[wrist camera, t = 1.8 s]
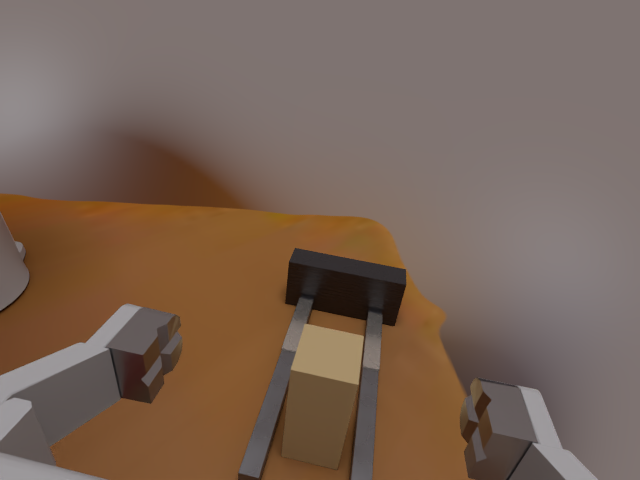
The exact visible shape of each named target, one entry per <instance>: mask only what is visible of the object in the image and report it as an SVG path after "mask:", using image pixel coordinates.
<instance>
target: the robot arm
mask: <svg viewBox="0 0 640 480" xmlns="http://www.w3.org/2000/svg"><path fill="white" fill-rule="evenodd" d="M25 253H26V250H25V248H24V246H23V244H22V243H20V242H15V241H14V239H13V237H12V235H11V233H10V231H9V229H8V227H7V225H6V223H5V221H4V219H3V217H2V214H1V212H0V310H2V309H3V308H5V307H6V306H8V305H9V304H10V303H12V302H13V301H14V300H15V299H16V298H17V297H18V296H19V295H20V294H21V293H22V292H23V291H24V289H25V288H26V286H27V284H28V281H29V271H28V269H27V267H26V266H25V264H24V262H23V259H24V257H25ZM180 326H181V323H180V317H179V316H177V315H175V314H171V313H166V312H162V311H158V310H154V309H149V308H145V307H139V306H135V305H131V304H125V305H123V306H121V307H120V308H119V309H118V310H117V311H116V312H115V313H114V314H113V315H112V316H111V317H110V318H109V319H108V320H107V322H106V323H105V324H104V325H103V326H102V327H101V328H100V329H99V330H98V331H97V332H96V333H95V334H94V335H93V336H92V337H91V338H90V339H89V340H88V341H87V342H86V343H81V342H79V343H77V344H75V345H72V346H70V347H68V348H65V349H63V350H60V351H58V352H56V353H53V354H51V355H48V356H46V357H44V358H41V359H39V360H36V361H34V362H32V363H29V364H27V365H25V366H22V367H20V368H17V369H15V370H13V371H10V372H8V373H5V374H3V375H1V376H0V480H107V479H103V478H99V477H95V476H92V475H88V474H84V473H80V472H76V471H72V470H68V469H64V468H60V467H56V461H55V459H54V456H53V454H52V451H51V449H50V446H52V445H53V444H55V443H56V442H58V441H59V440H61V439H62V438H64V437H65V436H67V435H68V434H70V433H71V432H72V431H74V430H75V429H77V428H78V427H80V426H81V425H83V424H84V423H86V422H87V421H89V420H90V419H92V418H93V417H95V416H96V415H98V414H99V413H101V412H102V411H104V410H105V409H107V408H108V407H110V406H111V405H113V404H114V403H116V402H117V401H119V400H120V399H121V398H126V399H130V400H135V401H140V402H145V403H150V404H151V403H152V401H153V400H154V398H155V397H156V395H157V394H158V392H159V391H160V389H161V388H162V386H163V385H164V378H163V376H164V375H165V374H167V373H169V372H171V371H173V369H174V367H175V366H176V364H177V362H178V360H179V357H180V354H181V351H182V337H181V336H180V335H179V333H178V332H177V330H178V329H179V328H180ZM470 389H471V394H472V395H471V396H469V397H467V398H465V400H464V402H463V405H462V407H461V414H460V429H461V435H462V437H463V438H464V439H465V440H466V442H467V443H468V445H467V447H466V449H465V451H464V455H465V461H466V467H467V473H468V478H471V479H475V480H598V479H597V478H596V477H595V476H594V475H593V474H592V473H591V472H590V471H589V470H588V469H587V468H586V467H585V466H584V465H583V464H582V463H581V462H580V461H579V460H578V459H577V458H576V457H575V456H574V455H573V454H572V453H571V452H570V451H568V450H564V449H563V448H562V446H561V443H560V441H559V438H558V436H557V433H556V430H555V428H554V425H553V423H552V421H551V418H550V415H549V413H548V410H547V408H546V406H545V403H544V401H543V398H542V396H541V393H540V392H539V391H538V390H537V389H532V388H527V387H522V386H515V385H511V384H507V383H501V382H497V381H492V380H486V379H482V378H476V379H475V380H473V382H472V384H471V387H470ZM120 397H121V398H120Z"/></svg>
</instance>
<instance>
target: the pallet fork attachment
mask: <svg viewBox="0 0 640 480" xmlns="http://www.w3.org/2000/svg"><path fill="white" fill-rule="evenodd" d="M405 287H406V269H401V268H396V267H390V266H385V265H380V264H375V263H370V262H364V261H359V260H354V259H349V258H344V257H339V256H333V255H328V254H323V253H318V252H313V251H308V250H302V249H297V248H295V250H294V252H293V254H292V256H291V259H290V261H289V268H288V279H287V291H286V302H285V303H286V304H291V305H295V306H297V307H296V309H295V312H294V315H293V318H292V321H291V323H290V326H289V329H288V332H287V335H286V337H285V340H284V343H283V346H282V349H281V350H282V351H281V354H280V357H279V360H278V362H277V365H276V368H275V371H274V374H273V377H272V379H271V382H270V385H269V388H268V391H267V394H266V396H265V399H264V402H263V405H262V408H261V410H260V413H259V416H258V419H257V422H256V425H255V427H254V430H253V433H252V436H251V439H250V442H249V444H248V447H247V450H246V453H245V456H244V459H243V461H242V464H241V467H240V470H239V473H238V480H261V477H262V474H263V471H264V467H265V464H266V461H267V457H268V454H269V451H270V447H271V444H272V441H273V438H274V434H275V431H276V428H277V424H278V421H279V418H280V414H281V411H282V408H283V404H284V401H285V398H286V394H287V391H288V388H289V380H290V371H291V367H292V364H293V361H294V357H295V354H296V351H297V348H298V344H299V341H300V338H301V335H302V331H303V328H304V325H305V324H308V321H309V318H310V314H311V311H312V309H315V310H319V311H324V312H329V313H334V314H339V315H344V316H348V317H353V318H358V319H363V320H367V321H366V330H365V340H364V349H363V358H362V367H361V376H360V385H359V395H358V404H357V413H356V422H355V431H354V440H353V450H352V459H351V468H350V477H349V480H372V470H373V453H374V437H375V420H376V403H377V387H378V371H379V367H380V350H381V333H382V324H387V325H392V326H395V322H396V319H397V315H398V312H399V308H400V305H401V301H402V298H403V294H404V291H405Z"/></svg>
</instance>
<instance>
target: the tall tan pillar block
mask: <svg viewBox="0 0 640 480" xmlns="http://www.w3.org/2000/svg"><path fill="white" fill-rule="evenodd" d="M363 339H364V336H361V335H356V334H352V333H347V332H342V331H337V330H333V329H328V328H323V327H319V326H314V325H309V324H305V325H304V328H303V331H302V335H301V338H300V341H299V344H298V348H297V351H296V354H295V357H294V361H293V364H292V367H291V371H290V380H289V389H288V398H287V407H286V416H285V425H284V434H283V443H282V452H281V456H282V457H286V458H290V459H294V460H298V461H302V462H306V463H310V464H314V465H318V466H322V467H327V468H331V469H335V470H337V469H338V465H339V461H340V457H341V453H342V449H343V445H344V441H345V437H346V433H347V429H348V425H349V421H350V417H351V412H352V408H353V404H354V400H355V396H356V392H357V388H358V384H359V375H360V366H361V357H362V348H363Z"/></svg>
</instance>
